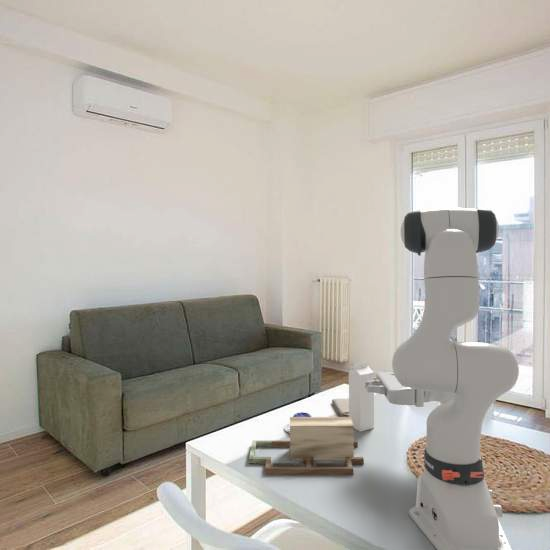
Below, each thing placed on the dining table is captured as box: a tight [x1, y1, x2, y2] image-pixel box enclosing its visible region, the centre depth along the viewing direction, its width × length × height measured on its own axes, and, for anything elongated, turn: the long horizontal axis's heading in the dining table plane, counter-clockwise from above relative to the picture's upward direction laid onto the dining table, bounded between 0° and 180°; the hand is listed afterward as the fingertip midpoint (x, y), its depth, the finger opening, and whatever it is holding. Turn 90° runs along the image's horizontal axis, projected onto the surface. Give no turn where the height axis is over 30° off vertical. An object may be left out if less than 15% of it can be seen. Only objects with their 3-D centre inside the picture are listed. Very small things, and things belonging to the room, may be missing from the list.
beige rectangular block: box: [289, 416, 355, 461], centre depth 133 cm, size 7×18×10 cm, turn 88°
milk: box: [348, 361, 375, 432], centre depth 153 cm, size 6×6×22 cm
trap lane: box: [248, 440, 365, 476], centre depth 130 cm, size 18×32×2 cm, turn 88°
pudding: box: [284, 411, 312, 434], centre depth 152 cm, size 12×12×5 cm
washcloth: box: [331, 397, 349, 417], centre depth 170 cm, size 12×18×3 cm, turn 6°
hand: (365, 386), depth 132 cm, fingers closed
